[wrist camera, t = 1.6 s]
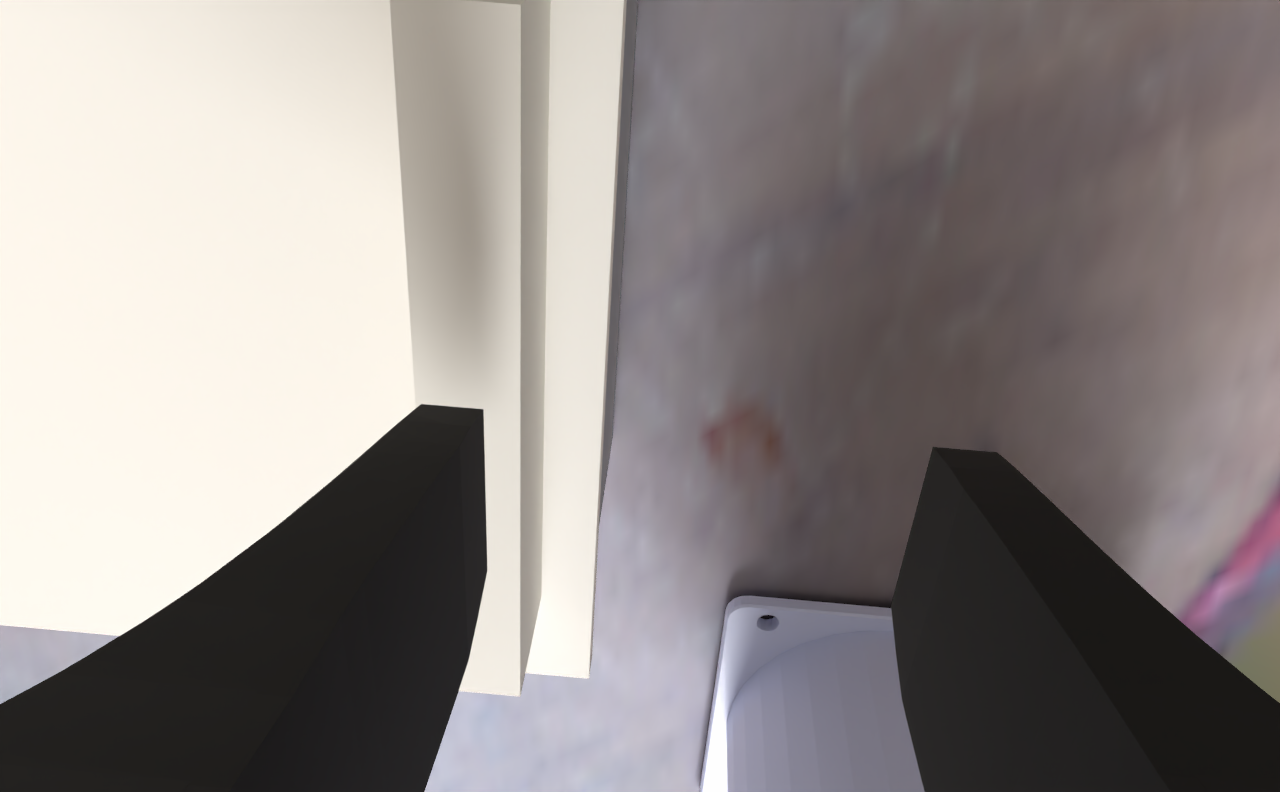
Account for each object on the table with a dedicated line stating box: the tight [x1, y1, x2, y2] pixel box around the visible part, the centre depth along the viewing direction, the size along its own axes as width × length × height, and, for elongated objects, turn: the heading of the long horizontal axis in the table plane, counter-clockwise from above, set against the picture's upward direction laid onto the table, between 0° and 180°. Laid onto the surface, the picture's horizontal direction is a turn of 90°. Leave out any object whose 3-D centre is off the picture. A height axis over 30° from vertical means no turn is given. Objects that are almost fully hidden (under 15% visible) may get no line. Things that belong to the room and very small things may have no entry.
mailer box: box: [599, 0, 638, 522], centre depth 16 cm, size 16×12×6 cm
